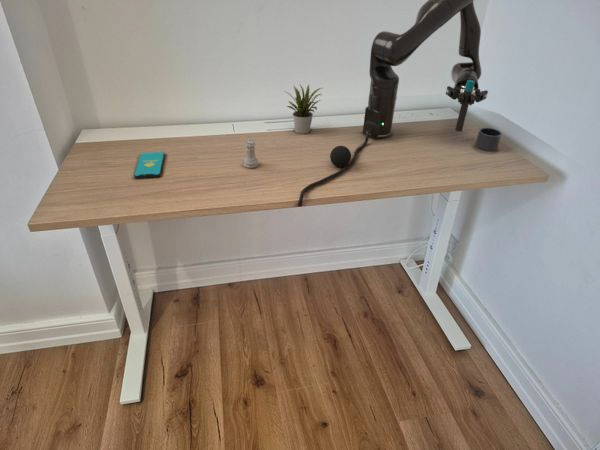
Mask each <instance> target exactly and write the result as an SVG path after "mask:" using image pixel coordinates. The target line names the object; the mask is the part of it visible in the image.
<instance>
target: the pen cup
mask: <svg viewBox="0 0 600 450" xmlns="http://www.w3.org/2000/svg"><path fill="white" fill-rule="evenodd" d="M502 136H503V133H502V132H501V131H500V130H498V129H496V128H492V127H482V128H480V129H478V133H477V137H476V140H475V143H474V147H475V148H476V149H477V150H479V151H482V152H486V153H493V152H496V151H497V150H498V148H499V144H500V141H501V139H502Z"/></svg>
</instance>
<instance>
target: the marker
mask: <svg viewBox="0 0 600 450" xmlns="http://www.w3.org/2000/svg"><path fill="white" fill-rule="evenodd" d="M474 84H475V81H473V80H467V83H466V87H465V92H464V100H463V104H460V109H459V113H458V117H457V120H456V124H455V129H454V131H455V132H459V133H461V132H463V128H464V125H465V121H466V117H467V113H468V109H469V106H470V105H469V101H470V97H471V94H472V91H473V87H474Z"/></svg>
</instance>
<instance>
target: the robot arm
mask: <svg viewBox="0 0 600 450" xmlns="http://www.w3.org/2000/svg"><path fill="white" fill-rule="evenodd" d="M474 1H475V0H427V1H426V2H424V4H422V6H421V7H420V8H419V10H418V12H417V14H416V19H415V22H414V24H413V25H412V26H411V27H410V28H408V30H406V31H405V32H403V33H401V34H399V33H395V32H390V31H387V30H386V31H385V30H383V31H380V32H378V33H377V34H376V35H375V37H374V38H373V41H372V44H371V47H370V56H369V57H370V58H369V78H370V85H369V92H368V93H369V94H368V101H367V106H366V107H365V110H364V118H363V126H362V127H363V128H362V134H363V135H365V139H364V142H363V143H362V145H361V146H359V147H357V148H356V150H355V151H354V153H353V155H352V156H353V157H352V158H351V160H350V162H349V163H348V164H347V165H346V166H344V167H342V169H339V170H338V171H336V172H335V173H332V174H330V175H328V176H326V177H324V178H321V179H319V180H317V181H314V182H311V183H310V184H308V185H307V186H305V187H304V188H303V189H302V190H301V191H300V195H299V198H298V203H297V207H301V206H302V205H303V201H304V196H305V194H306V193H307V192H308V191H309V190H310V189H311V188H313V187H316V186H318V185H321V184H324V183H325V182H327V181H329V180H331V179H334V178H336V177H337V176H339V175H341V174H343V173H344V172H346V171H347V170H348V169H349V168H350V167H351V166H352V165H353V164H354V163H355V162H356V159H357V156H358V153H359V152H360V151H361V150H363V149H364V148H365V147H366V146H367V144H368V141H369V138H372V139H386V138H389V137H391V136H392V128H393V121H394V116H395V109H396V102H397V97H398V96H397V95H398V91H399V84H400V77H399V76H398V74H397V72H395V71H394V69H393V67H398V66H401V65H402V64H404V63H405V62H406V61H407V60H408V58H410V57H411V56H412V55H413V54H414V53H415V52H416V51H417V49H418V48H420V46H421V45H422V44H424V43H425V42H426V41H427V40H428V39H429V38H430V37H431V36H433V35H434V33H436V32H437V31H438V30H439V29H441V28H442V27H443V26H444V25H446V24H447V23H448V22H449V21H450V20H451V19H452V18H454V16H456V15H457V14H458V13H459V18H460V28H459V29H460V31H459V43H458V55H459V56H460V57H463V58H467V59H470V60H471V62H458V63H455V64H454V65H453V66H452V68H451V71H450V72H451V73H450V74H451V79H452V82H453V83H454V86H453V87H451V86H450V85H447V86H446V91H445V95H446V96H447V97H449V98H450V99H452V100H457V103H459V105H461V104H463V100H464V92H465V87H466V83H467V80H473V81H475V84H474V87H473V91H472V94H471V97H470V101H469V105H468V106H473V105H474V104H475V102H476V103H480V102H482V101H484V100H486V99H487V97H488V92H489V91H488V90H487V89H486V90H481V89H480V88H479V80H480V78H481V76H482V66H481V60H480V45H481V35H482V29H481V25H480V24H481V23H480V20H479V17H478V15H477V12H476V8H475V3H474Z"/></svg>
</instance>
